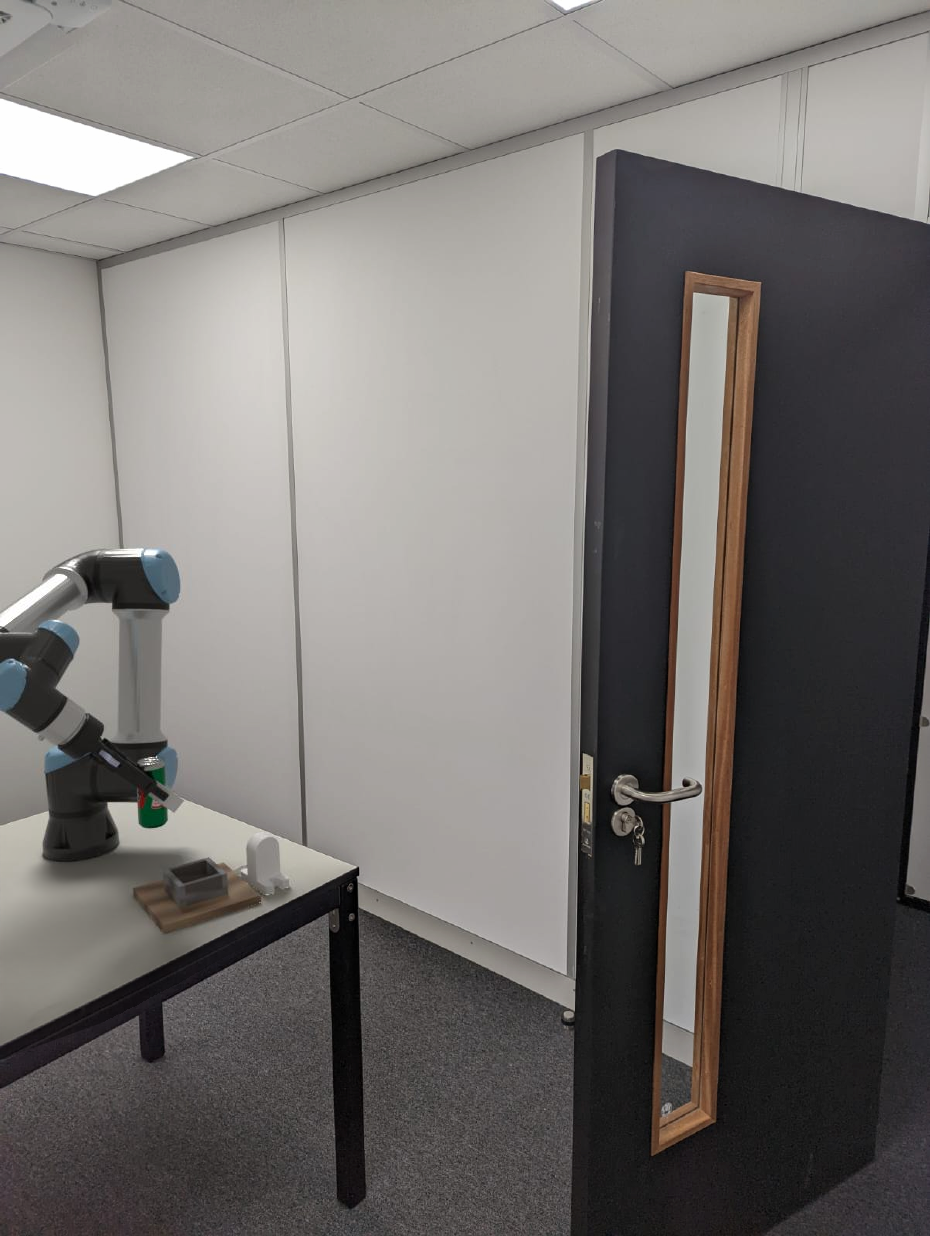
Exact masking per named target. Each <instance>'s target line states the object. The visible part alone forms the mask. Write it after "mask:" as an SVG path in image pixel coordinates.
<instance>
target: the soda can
mask: <svg viewBox="0 0 930 1236" xmlns="http://www.w3.org/2000/svg"><path fill="white" fill-rule="evenodd" d="M136 767H137V768H138V769H139V770H141V771H142V772H144V773H145V774H146V775H148V776H149V777H150V778H152V779H154V780H156V781H158V782H159V783H161V784H162V785H163V786H165V787H166V770H165V764H164V763H163V759H162V758H158V757H150V758H144V759H141V760H139V761H138V762H137V766H136ZM143 793H144V792H143V791H141V790H140V789H138V788H137V803H136V804H137V817H138V818H137V819H138V821H137V822H138V825H140V827H141V828H144V829H151V830H152V829H157V828H161V827H163V826H164V825H166V824H167V822H168V821H169V812H168V810H169V809H168V808H166V807H165V806H163V805H162V804H161V803H159V802H158V801H156V800H155V799H153V798H152V797H151V796H149V795H147V796H146V797H143V796H142V794H143Z"/></svg>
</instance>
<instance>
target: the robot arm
mask: <svg viewBox="0 0 930 1236" xmlns="http://www.w3.org/2000/svg"><path fill="white" fill-rule="evenodd" d="M180 594H181V577H180V573H179V569H178V566H177V564H176V562H175V560H174V558H173V556H172V555H171V554H170V553H169V552H167V551H166V550H163V549H159V548H157V549H155V548H148V547H147V548H144V547H143V548H109V549H108V548H98V549H92V550H88V551H84V552H81V553H79V554H77V555H74V556H72V557H69V558H68V559H66V560H64V561H62V562H60V563H58V564H57V565H55V566H53V567H52V568H51V569H49V570H47V572H46V573H44V576H43V577H42V581H41V582H40V583H38V584H37V585H35V586H34V587H33V588H31V589H30V590H28V591H27V592H25V593H24V594H23V595H22V596H20V597H18V598H17V599H16V600H13V602H12V603H10V604H9V605H7V606H6V607H4V608H3V609H1V610H0V712H3V713H4V714H6V715H8V716H9V717H11V718H12V719H13V720H15V721H16V722H19V723H20V724H21V725H22V726H24V727H26V728H27V729H29V730H31V731H32V732H33V733H35V734H37V735H38V737H37V740H38V741H39V742H42V741H44V740H46V741H47V742H48V743H49V744H51V745H52V746H54V747H52V748H50V749H49V750H48V751H46V754H45V755H44V770H43V773H44V775H45V776H44V779H45V788H46V799H47V807H48V821H47V824H46V829H45V832H44V836H43V839H42V844H41V845H42V853H43V856H44V857H45V858H47V859H48V860H53V861H57V862H58V861H59V862H60V861H61V862H73V861H74V862H75V861H81V860H85V859H86V860H87V859H89V858H90V859H91V858H94V857H98V856H100V855H103V854H105V853H108V852H110V851H111V850H113V849H114V848H115V847H117V845H118V844H119V843H120V836H119V835H120V834H119V833H120V832H119V829H118V827H117V825H116V823H115V820H114V819H113V815H112V814H111V812H110V809H109V805H108V803H129V804H130V803H133V804H135V803H136V804H137V788H138V789H140V790H141V791H143V792H144V793H143V794H142V796H143V797H146V796H147V795H149V796H151V797H152V798H153V799H155V800H156V801H158V802H159V803H161V804H162V805H163V806H165V807H166V808H168V810H169V811H171V813H173V814H175V813H176V812H177V810H178V809H179V808H180V807H181V806H182V804H183V803H184V802H185V800H184V799H183V798H182V797H181V796H179V795H177V793H175V792H176V791H175V790H174V789H173V786H174V784H175V782H176V778H177V773H178V769H179V768H178V767H179V759H178V758H179V757H178V754H177V751H176V749H175V748H173V747H171V746H169V745H168V743H169V741H168V739H169V738H168V737H167V736H166V735H165V733H163V732H162V730H161V714H162V713H161V705H162V702H161V701H162V652H163V651H162V647H163V646H162V645H163V644H162V641H163V640H162V639H163V638H162V637H163V636H162V635H163V632H162V631H163V619H164V618H165V617H166V616H167V615H168V614H169V613H170V609H171V608H170V606H171V604H172V605H173V604H174V603H176V602H177V601H178V600H179V598H180ZM87 604H88V605H89V604H111V611H112V613H113V614H114V615H115V616H116V617H117V618H118V620H119V622H118V624H119V625H118V626H119V628H118V629H119V632H118V681H117V682H118V685H117V692H118V694H117V731H116V733H115V734H114V735H113V736H112V737H111V738H110V739H108V738H106V737H104V738H103V739H102V736H103V735H104V731H105V725H104V723H103V722H102V721H101V720H99V719H97V718H96V717H95V716H93V715H92V714H91V713H90V712H89V713H88V712H87V713H86V711H85V708H84V707H82V706H80V705H79V704H78V703H76V702H75V701H73V700H72V699H70V698H69V697H68V696H66V695H65V694H63V693H62V692H61V691H60V690H58V688H57V686H58V685H59V683H60V682H61V680H62V678H63V676H64V674H65V673H66V671H67V669H68V668H69V666H70V664H71V662H73V661H74V659H75V654H76V652H77V651H78V648H79V646H80V640H81V639H80V637H79V636H80V635H79V634H78V632H77V630H76V629H75V628H74V627H73V626H71V625H70V624H69V623H66V622H64V621H62V620H58V619H60V618H62V616H64V615H65V614H66V613H67V612H68V611H76V610H78V609H80V608H82V607H83V606H84V605H87ZM150 757H158V758H162V759H163V763H164V764H165V770H166V787H165V786H163V785H162V784H161V783H159V782H158V781H156V780H154V779H152V778H150V777H149V776H148V775H146V774H145V773H144V772H142V771H141V770H139V769H138V768H137V767H136V766H137V762H138V761H139V760H141V759H144V758H150Z"/></svg>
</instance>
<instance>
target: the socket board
mask: <svg viewBox="0 0 930 1236" xmlns="http://www.w3.org/2000/svg"><path fill="white" fill-rule="evenodd" d="M162 873H163V874H162V875H163V877H162V878H163V879H160V880H156V881H153V882H148V883H145V884H142V885H137V886H135V887H133V888H132V896H133V895H134V896H133V897H134V898H135V899H136V901H137V902H138V901H139V902H138V903H139V904H140V906H141V907H142V906H143V907H144V908H143V907H142V908H143V910H145V911H146V912H148V913H147V914H148V915H149V916H150V918H151V917H152V918H151V919H152V921H154V923H156V924H155V925H157V926H158V927H159V928H160V930H161V931H162V932H163V933H164V934H168V933H171V932H174V931H177V930H180V929H183V927H184V928H187V927H190V926H192V924H193V925H196V924H199V923H202V922H201V921H203V922H205V921H206V922H207V921H208V920H212V919H214V917H215V918H218V917H221V916H224V915H226V914H227V915H228V914H230V913H232V912H233V911H234V912H237V911H239V910H243V909H246V908H249V907H252V906H255V905H254V904H256V905H258V904H257V903H259V902H261V903H262V898H261V897H262V895H261V894H260V892H259V891H257V890H256V889H254V888H253V887H251V886H250V885H249V884H247V883H246V882H245V881H244V880H243V879H242V878H241V876H239V875H238V873H236V872H235V871H234V870H232V869H231V868H230V867H229V866H228V865H227V864H226V863H225V862H219V863H216V862H215V861H214V860H213V859H212V858H211V857H205V858H202V859H198V860H194V861H190V862H186V863H183V864H180V865H176V866H172V867H169V868H165V869H162ZM259 904H260V903H259ZM251 905H252V906H251ZM248 906H249V907H248ZM245 907H246V908H245ZM242 908H243V909H242ZM234 912H233V913H234ZM211 918H212V919H211ZM189 925H190V926H189ZM186 926H187V927H186Z"/></svg>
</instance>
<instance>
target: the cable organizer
mask: <svg viewBox="0 0 930 1236" xmlns="http://www.w3.org/2000/svg"><path fill="white" fill-rule="evenodd" d="M245 848H246V849H245V850H246V851H245V852H246V867H245V868H242V869H240V877H241V878H242V879H243V880H244V881H245V882H246V883H248V884H249V885H250V886H252V888H253V887H254V888H256V889H257V890H256V889H255V890H256V891H258V890H260V891H261V892H262V893H264V894H272V893H274V894H275V887H277V886H279V887H281V888H283V889H284V888H286V887H289V888H290V877H289V876H287V875H285V874H284V873H282V872H281V857H280V856H281V855H280V854H281V852H280V842H279V841H278V839H277V838H275V837H274V836H272V835H270V834H268V833H266V832H265V831H264V832H263V831H259V832H256V833H254V834H252V835H251V836H250V838H249V839H248V840H247V843H246V847H245ZM279 887H278V888H279ZM254 888H253V889H254ZM281 888H280V889H281ZM283 889H282V890H283ZM284 890H285V889H284ZM261 892H260V893H261ZM262 893H261V894H262ZM264 894H263V895H264ZM272 895H273V894H272Z"/></svg>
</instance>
